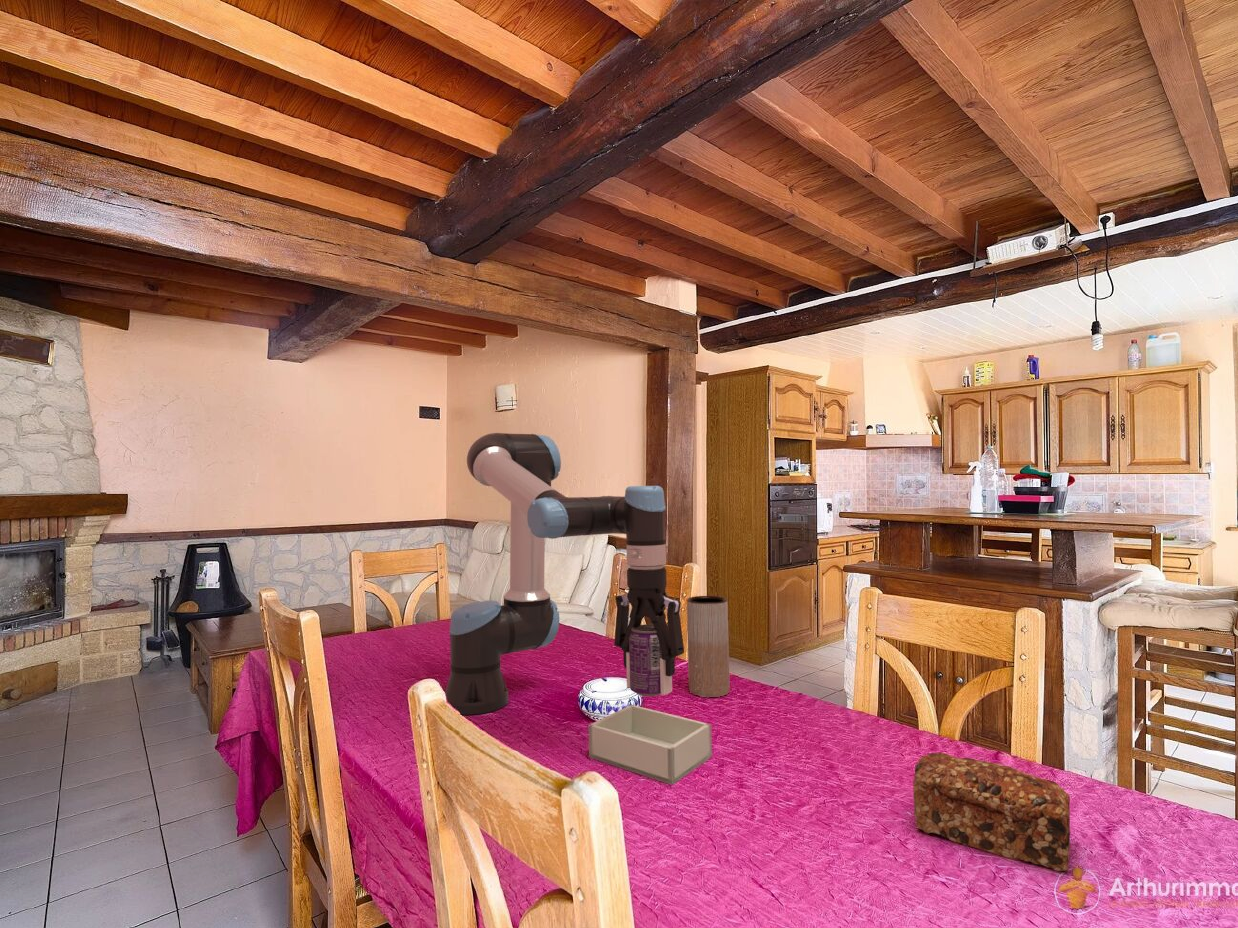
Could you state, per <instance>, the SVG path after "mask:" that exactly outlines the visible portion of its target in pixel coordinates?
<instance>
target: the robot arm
mask: <svg viewBox="0 0 1238 928" xmlns="http://www.w3.org/2000/svg"><path fill="white" fill-rule="evenodd" d="M466 465H467V469H468V471H469V474H470V475H471V476H472V477H473V478H474V479H475V480H476V481H477V482H478V483H480V484H481V485H483V486H486V487H492V488H493V489H494V490H495V491H497V493H499V494H501V496H503V497H504V498H505V499H506V500H508V501H509V502H510V534H509V536H510V539H509V540H510V543H509V544H510V545H509V546H510V547H509V550H510V551H509V554H510V555H509V589H508V590H507V592H505V594H504V595H503V604H502V605H501V604H500V602H499V601H498V600H483V601H480V600H479V601H475V602H471V603H467V604H464V605H461V606H459V607H457V608H455V610H453V611H452V612H451V615H450V626H449V640H450V641H449V643H450V644H449V646H450V654H449V655H450V675H449V677H448V681H447V685H446V688H445V692H444V694H445V693H446V696H447V699H448V702H449V703H450V704H451V705H452V706H453V707H454V708H456V709H457V710H458V711H459V712H460V713H461V714H460V715H463V716H465V715H467V716H469V715H481V714H486V713H490V712H494V711H498V710H500V709H501V708H504V707H505V706H507V704H509V691H508V688H507V685H506V681H505V678H504V676H503V672H502V668H501V656H503V655H508V654H513V653H518V652H524V651H529V650H538V649H539V648H543V647H546V646H548V645H550V644H551V643H552V642H553V641H554V640H555V639H556V637H557V634H558V632H559V628H560V611H558V609H559V608H558V605H557V604H556V602H555V601H554V600H552V599H551V594H550V593H549V591H547V590H546V589H545V557H546V556H545V548H546V547H545V544H546V540H545V539H558V538H567V537H568V538H569V537H578V536H579V537H581V536H598V535H608V534H611V535H612V534H619V535H620V534H621V535H625V538H626V541H625V543H626V565H627V566H628V568H627V570H626V586H627V587H628V592H627V594H626V593H625V594H619V595H617V596H615V599H614V600H615V604H616V618H615V619H616V620H615V631H614V632H615V633H614V643H613V644H614V646H615V647H616V648H620V649H621V651H623V666H624V667H623V668H626V687H627V688H629V689H630V653H629V637H630V635H631V632H632V630H631V628H632V627H635V628H636V627H638V626H639V625H642V622H643V619H644V618H645V617H646V618H649V621H650V622H651V624H652V625H654V628H655V631H657V633H656V634H657V637H658V640H659V644H660V647H661V650H662V653H663V656H664V657H661V658H660V685H661V694H660V695H661V696H665V695H667V694H670V693H671V692H673V676H674V675H675V674H676V657H679V656H681V655H683V654H684V653H685V646H684V645H685V644H684V640H683V638H684V637H683V630H682V629H683V628H682V623H681V615H680V611H681V607H682V606H681V605H682V602H681V601H680V600H679V599H676V600H673V599H671V598H669V597H668V595H667V592H666V588H667V583H668V582H667V579H668V578H667V569H666V568H665V567H664V566H665V565H666V564H667V548H666V547H667V544H666V509H667V506H666V502H665V492H664V489H663V487H661V486H660V485H631V486H627V487H626V488H625V491H624V492H625V494H624V496H619V495H617V496H613V495H602V496H587V497H586V496H585V497H584V496H583V497H582V496H579V497H574V496H572V497H568V496H566V495H564V494H562V493H560V492H559V491H557V490H556V489H555V488H553V486H552V482H553V481H554V480H556V479H557V478H558V476H559V472H561V469H562V467H561V466H562V460H561V453H560V450H559V448H558V446H557V444H556V443H555V440H553V439H552V438H550V436H546V435H543V434H542V435H541V434H538V433H537V434H536V433H506V432H505V433H504V432H492V433H488V434H485V435H482V436H481V437H479V438H478V439H477V440H475V441H474V442H473V443H472V445H470V448H469V450H468V452H467V456H466ZM630 605H631V610H630ZM664 607H665V609H664ZM665 611H666V612H665ZM666 620H667V621H666Z"/></svg>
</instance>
